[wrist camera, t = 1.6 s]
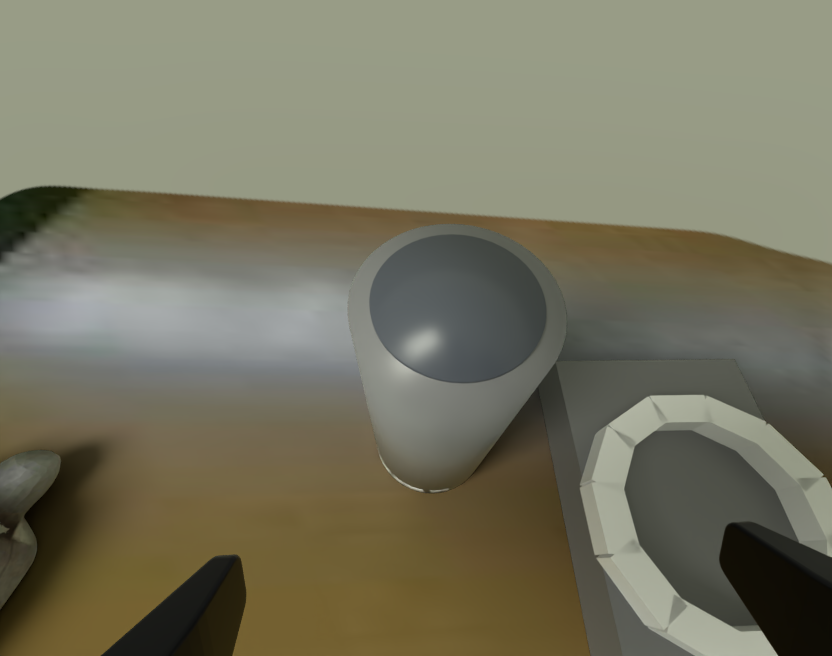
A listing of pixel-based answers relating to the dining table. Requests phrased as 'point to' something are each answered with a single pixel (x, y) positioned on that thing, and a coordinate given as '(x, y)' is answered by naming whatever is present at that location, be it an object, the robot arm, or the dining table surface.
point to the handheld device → (21, 512)
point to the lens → (450, 346)
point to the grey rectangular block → (670, 499)
